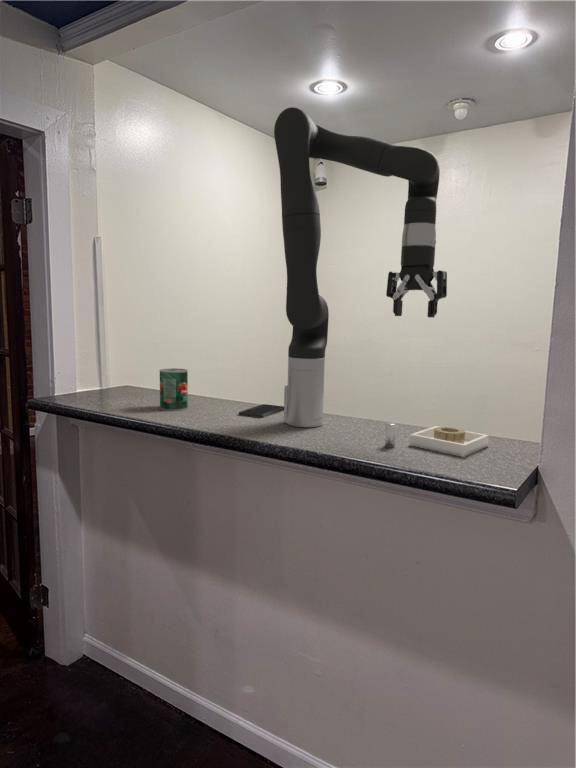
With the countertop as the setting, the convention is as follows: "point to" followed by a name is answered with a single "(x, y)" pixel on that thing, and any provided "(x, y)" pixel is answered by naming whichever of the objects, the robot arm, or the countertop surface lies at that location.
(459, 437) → the oak ring
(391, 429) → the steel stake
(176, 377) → the canned tomato
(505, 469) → the countertop surface
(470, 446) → the white tray
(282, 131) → the robot arm
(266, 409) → the phone
